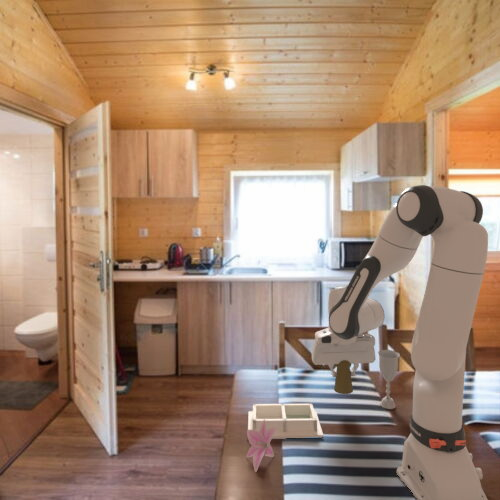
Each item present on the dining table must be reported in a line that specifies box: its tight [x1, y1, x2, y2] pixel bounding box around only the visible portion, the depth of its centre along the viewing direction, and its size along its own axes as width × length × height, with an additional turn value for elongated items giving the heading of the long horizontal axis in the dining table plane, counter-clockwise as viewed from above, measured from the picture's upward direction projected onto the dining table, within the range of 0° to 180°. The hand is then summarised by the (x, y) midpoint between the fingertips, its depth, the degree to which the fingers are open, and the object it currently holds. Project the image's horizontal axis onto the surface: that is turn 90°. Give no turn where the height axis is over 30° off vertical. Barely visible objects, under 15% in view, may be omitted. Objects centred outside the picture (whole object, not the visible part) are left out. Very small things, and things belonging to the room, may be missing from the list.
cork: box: [333, 360, 354, 395], centre depth 129 cm, size 6×6×11 cm
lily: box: [245, 419, 277, 473], centre depth 106 cm, size 12×12×10 cm
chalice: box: [377, 349, 401, 410], centre depth 133 cm, size 7×7×18 cm
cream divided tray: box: [247, 403, 324, 440], centre depth 122 cm, size 14×22×4 cm, turn 89°
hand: (343, 376), depth 129 cm, fingers closed on cork, 4 cm apart
